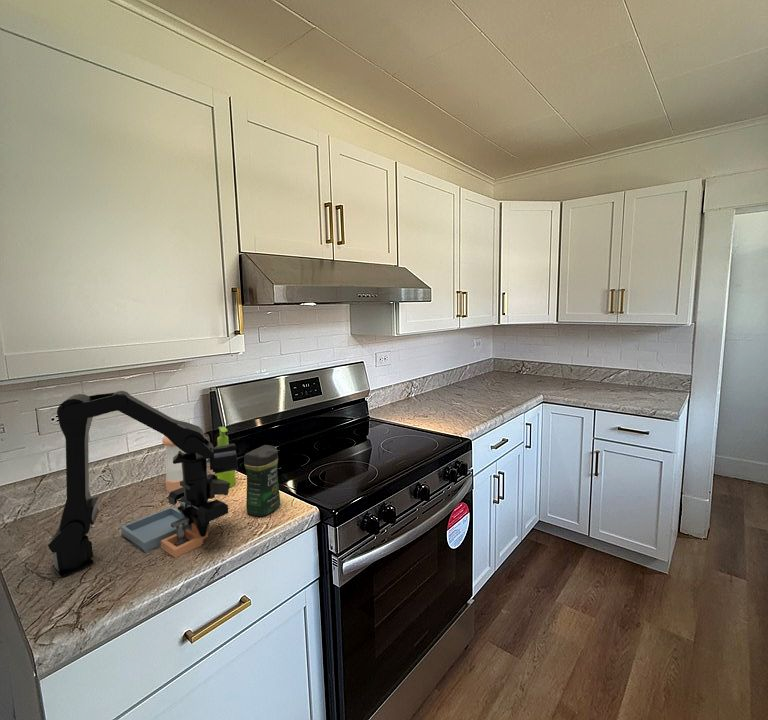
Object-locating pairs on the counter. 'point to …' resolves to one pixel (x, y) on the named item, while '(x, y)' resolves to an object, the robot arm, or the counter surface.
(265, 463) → the coffee jar
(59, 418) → the robot arm
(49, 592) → the counter surface
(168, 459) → the pepper shaker
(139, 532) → the tray
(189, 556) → the counter surface
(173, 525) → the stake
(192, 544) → the tan rectangular frame
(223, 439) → the soap dispenser
